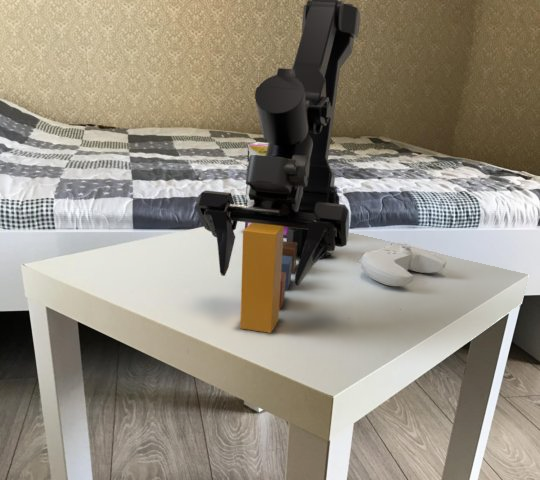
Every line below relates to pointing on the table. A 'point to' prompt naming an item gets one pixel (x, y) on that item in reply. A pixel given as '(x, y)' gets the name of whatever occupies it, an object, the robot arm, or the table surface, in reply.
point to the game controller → (399, 263)
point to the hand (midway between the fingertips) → (258, 279)
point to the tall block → (261, 276)
